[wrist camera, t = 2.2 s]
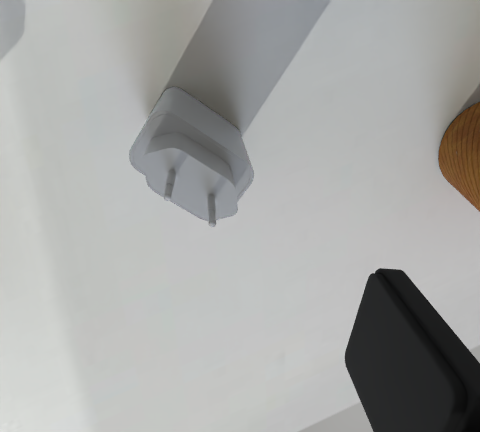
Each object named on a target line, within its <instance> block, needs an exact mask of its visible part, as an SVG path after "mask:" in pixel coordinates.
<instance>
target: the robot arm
mask: <svg viewBox="0 0 480 432" xmlns="http://www.w3.org/2000/svg"><path fill="white" fill-rule="evenodd" d="M345 363H346V367H347V370H348V372H349V374H350V377H351V379H352V381H353V384H354V386H355V389H356V391H357V393H358V396H359V398H360V400H361V403H362V405H363V407H364V410H365V412H366V415H367V417H368V419H369V422H370V424H371V426H372V429H373V431H374V432H480V363H479V362H478V361H477V360H476V358H475V357H474V356H473V355H472V354H471V352H470V351H469V350H468V349H467V347H466V346H465V345H464V344H463V343H462V341H461V340H460V339H459V338H458V337H457V335H456V334H455V333H454V332H453V330H452V329H451V328H450V327H449V326H448V324H447V323H446V322H445V321H444V320H443V318H442V317H441V316H440V315H439V314H438V312H437V311H436V310H435V309H434V308H433V306H432V305H431V304H430V303H429V301H428V300H427V299H426V298H425V297H424V295H423V294H422V293H421V292H420V291H419V289H418V288H417V287H416V286H415V285H414V283H413V282H412V281H411V280H410V279H409V277H408V276H407V275H406V274H405V272H403V271H402V270H396V269H381V268H380V269H378V270H377V271H376V272H375V274H373V273H372V274H371V275H370V276H369V278H368V281H367V284H366V287H365V290H364V294H363V297H362V300H361V303H360V306H359V310H358V313H357V316H356V319H355V323H354V326H353V329H352V332H351V336H350V339H349V342H348V345H347V349H346V352H345Z"/></svg>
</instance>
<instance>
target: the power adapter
mask: <svg viewBox="0 0 480 432" xmlns="http://www.w3.org/2000/svg"><path fill="white" fill-rule="evenodd" d="M129 159H130V162H131V165H132V166H133V167H134V168H135V169H136V170H138V171H139V172H140V173H142V174H144V175H145V176H146V181H147V184H148V186H149V187H150V188H151V189H152V190H153V191H154V192H156V193H157V194H159V195H160V196H162V197H164V199H165V200H166V201H171V202H172V203H174V204H176V205H178V206H179V207H181V208H183V209H185V210H186V211H188V212H190V213H191V214H193V215H195V216H197V217H198V218H200V219H203V220H206V221H209V225H210V226H211V227H214V226H215V225H216V220H218V219H222V218H226V217H230V216H233V215H235V214H236V213H237V210H238V207H237V202H238V200H239V199H240V198H241V196H242V195H243V194H244V192H245V191H246V190H247V188H248V187H249V186H250V184H251V183H252V181H253V178H254V171H253V168H252V165H251V163H250V160H249V157H248V154H247V151H246V148H245V146H244V143H243V140H242V137H241V134H240V132H239V130H238V128H237V127H235V126H234V125H233V124H231V123H230V122H228V121H227V120H226V119H224V118H223V117H221V116H220V115H218V114H217V113H215V112H214V111H213V110H211V109H210V108H208V107H207V106H205V105H204V104H202V103H201V102H200V101H198V100H197V99H195V98H194V97H192V96H191V95H189V94H188V93H187V92H185V91H184V90H182V89H180V88H178V87H170V88H168V89H167V90H165V91H164V93H163V94H162V96H161V98H160V99H159V101H158V102H157V104H156V106H155V107H154V109H153V111H152V112H151V114H150V116H149V117H148V119H147V121H146V123H145V124H144V126H143V128H142V130H141V131H140V133H139V135H138V137H137V138H136V140H135V142H134V144H133V145H132V147H131V149H130V153H129Z"/></svg>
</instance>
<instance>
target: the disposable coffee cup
mask: <svg viewBox="0 0 480 432" xmlns="http://www.w3.org/2000/svg"><path fill="white" fill-rule="evenodd" d="M438 159H439V166H440V169H441V172H442V174H443V176H444V177H445V178H446V180H447V181H448V182H449V183H450V184H451V185H453V186H454V187H455V188H456V189H457V190H458V191H459V192H460V193H461V194H462V195H463V196H464V197H465V198H466V199H467V200H468V201H469V202H470V203H471V204H472V205H473V206H475V207H476V209H478V210H479V211H480V102H478V103H476V104H474V105H473V106H471V107H469V108H468V109H466V110H465V111H464V112H462V113H461V114H460V115H459V116H458V117H457V118H456V119H455V120H454V121H453V122H452V123H451V125H450V126H449V128H448V129H447V131H446V132H445V135H444V137H443V139H442V141H441V145H440V149H439V158H438Z"/></svg>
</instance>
